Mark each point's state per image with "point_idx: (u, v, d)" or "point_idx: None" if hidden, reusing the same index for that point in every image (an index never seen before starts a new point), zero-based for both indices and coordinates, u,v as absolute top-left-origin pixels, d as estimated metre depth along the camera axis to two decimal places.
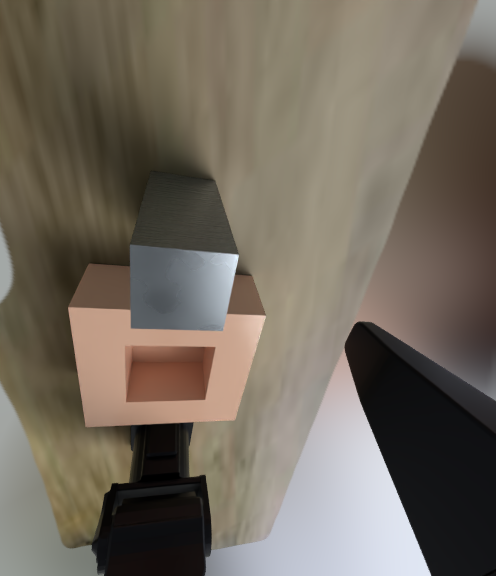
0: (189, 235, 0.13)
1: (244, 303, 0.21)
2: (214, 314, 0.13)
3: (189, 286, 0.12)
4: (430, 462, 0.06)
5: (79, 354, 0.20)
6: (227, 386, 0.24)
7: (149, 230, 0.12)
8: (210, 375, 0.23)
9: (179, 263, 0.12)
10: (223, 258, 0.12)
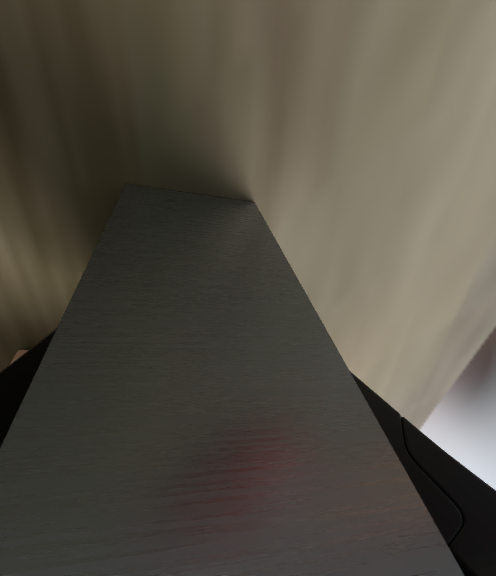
0: (242, 513, 0.03)
1: None
2: None
3: None
4: None
5: None
6: None
7: (43, 530, 0.02)
8: None
9: None
10: None
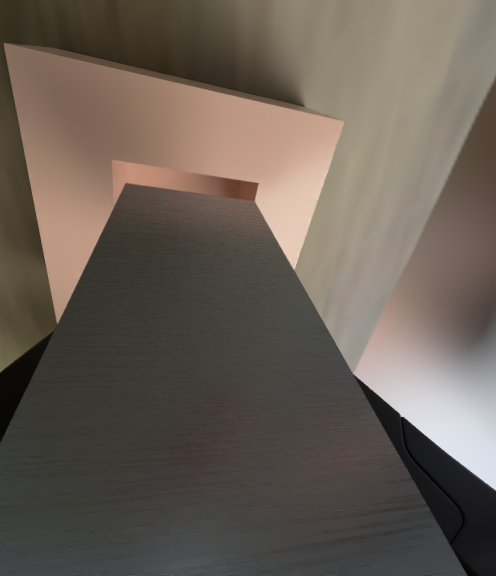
0: (243, 513, 0.03)
1: (306, 110, 0.13)
2: None
3: None
4: None
5: (35, 170, 0.12)
6: None
7: (42, 530, 0.02)
8: None
9: None
10: None
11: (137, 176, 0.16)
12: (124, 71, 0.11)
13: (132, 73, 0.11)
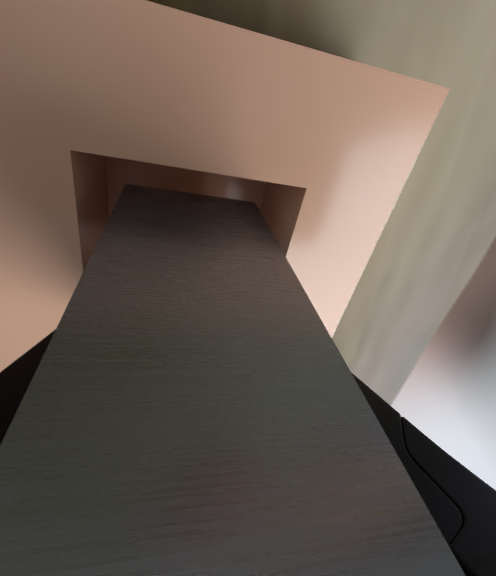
0: (243, 517, 0.03)
1: None
2: None
3: None
4: None
5: None
6: None
7: (42, 533, 0.02)
8: None
9: None
10: None
11: (122, 179, 0.11)
12: None
13: None
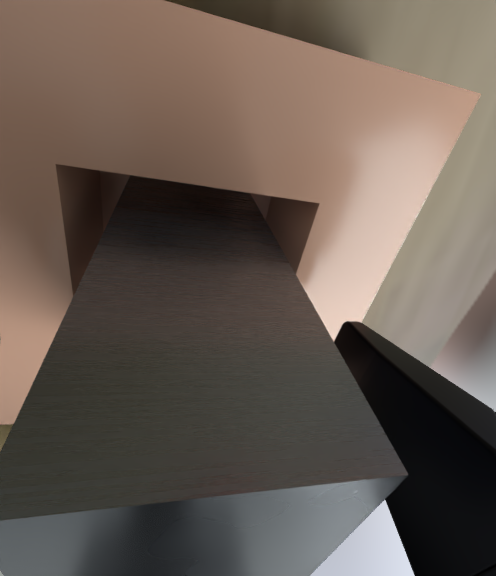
0: (225, 380, 0.04)
1: None
2: (287, 572, 0.05)
3: (227, 553, 0.04)
4: (415, 464, 0.06)
5: None
6: None
7: (89, 377, 0.04)
8: None
9: (196, 525, 0.03)
10: (353, 490, 0.03)
11: (117, 190, 0.11)
12: None
13: None
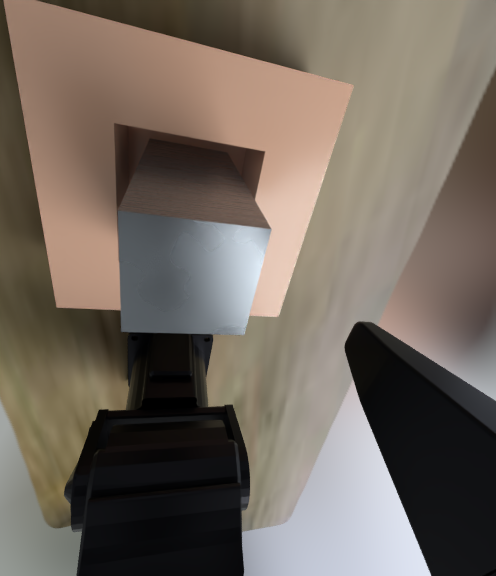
0: (201, 203, 0.09)
1: None
2: (233, 313, 0.10)
3: (202, 274, 0.09)
4: (430, 462, 0.06)
5: (34, 134, 0.11)
6: (274, 246, 0.16)
7: (146, 195, 0.09)
8: None
9: (188, 240, 0.08)
10: (250, 234, 0.09)
11: (139, 151, 0.16)
12: (127, 26, 0.10)
13: (135, 28, 0.10)
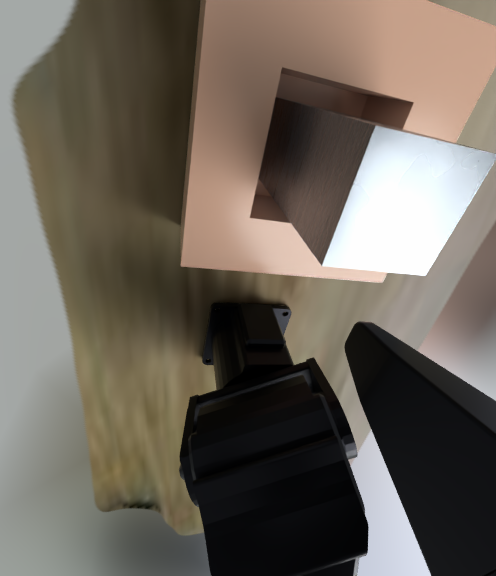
0: (414, 133, 0.09)
1: None
2: (427, 249, 0.10)
3: (418, 203, 0.09)
4: (430, 462, 0.06)
5: (206, 76, 0.11)
6: None
7: (368, 122, 0.09)
8: None
9: (422, 163, 0.08)
10: (477, 159, 0.09)
11: None
12: None
13: None
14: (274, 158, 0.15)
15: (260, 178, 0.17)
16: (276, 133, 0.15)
